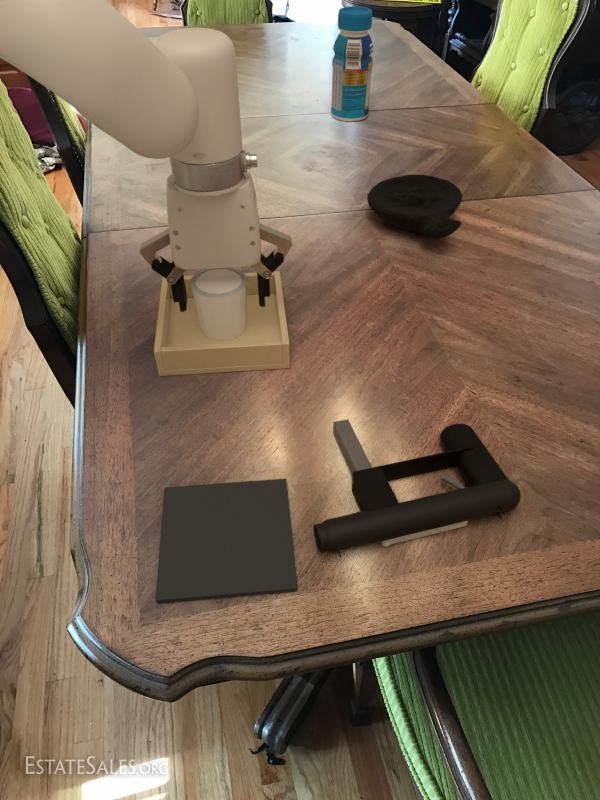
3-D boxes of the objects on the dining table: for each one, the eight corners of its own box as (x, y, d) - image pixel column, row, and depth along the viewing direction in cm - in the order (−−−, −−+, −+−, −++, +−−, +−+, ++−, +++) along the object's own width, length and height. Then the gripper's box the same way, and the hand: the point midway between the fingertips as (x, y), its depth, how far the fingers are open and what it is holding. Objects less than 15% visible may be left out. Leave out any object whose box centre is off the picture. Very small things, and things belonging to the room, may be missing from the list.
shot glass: (209, 350, 75) (202, 303, 70) (188, 320, 79) (181, 274, 74) (259, 333, 77) (257, 286, 73) (236, 306, 82) (232, 259, 77)
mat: (156, 603, 52) (155, 600, 52) (165, 491, 61) (164, 487, 60) (297, 591, 53) (297, 588, 52) (286, 481, 61) (286, 478, 61)
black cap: (391, 263, 91) (395, 232, 88) (354, 203, 105) (356, 175, 101) (484, 252, 93) (491, 222, 90) (436, 195, 107) (441, 167, 104)
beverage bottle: (322, 116, 134) (325, 10, 120) (346, 106, 139) (352, 2, 125) (352, 125, 130) (359, 17, 116) (376, 115, 135) (385, 9, 121)
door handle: (279, 427, 63) (325, 552, 52) (456, 392, 67) (536, 502, 56) (280, 449, 66) (325, 575, 54) (451, 415, 70) (528, 524, 58)
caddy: (158, 376, 73) (153, 351, 70) (166, 300, 84) (162, 276, 81) (289, 368, 74) (289, 343, 71) (280, 294, 85) (279, 271, 82)
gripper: (287, 149, 67) (290, 281, 79) (127, 156, 66) (154, 289, 78) (293, 179, 62) (295, 316, 74) (119, 187, 61) (150, 325, 73)
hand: (223, 302), depth 76 cm, fingers open, 9 cm apart
